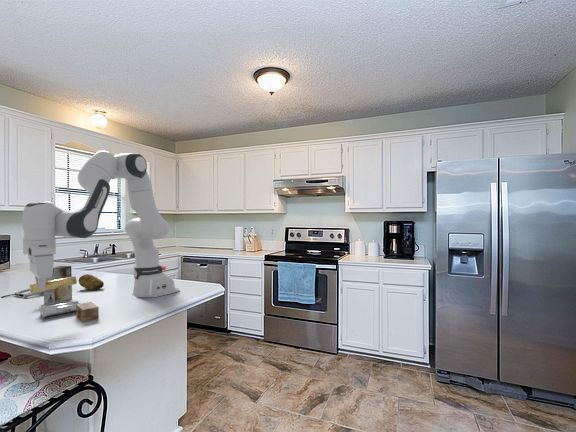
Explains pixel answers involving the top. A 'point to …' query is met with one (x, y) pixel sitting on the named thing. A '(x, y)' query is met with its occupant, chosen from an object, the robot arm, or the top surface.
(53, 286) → the axle
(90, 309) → the slotted wooden block
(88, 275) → the potato
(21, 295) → the bike brake
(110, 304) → the top surface
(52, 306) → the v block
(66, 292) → the coffee box
